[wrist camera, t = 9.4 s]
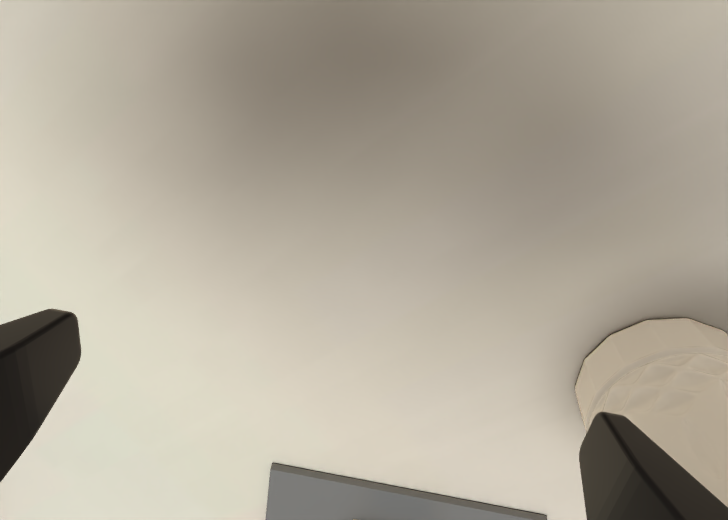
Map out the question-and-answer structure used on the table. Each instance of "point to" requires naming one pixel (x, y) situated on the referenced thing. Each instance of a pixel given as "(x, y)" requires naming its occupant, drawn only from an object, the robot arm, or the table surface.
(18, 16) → the table surface
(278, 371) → the table surface
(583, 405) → the white cup
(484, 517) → the slate pad
